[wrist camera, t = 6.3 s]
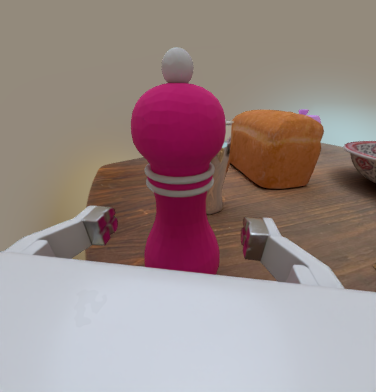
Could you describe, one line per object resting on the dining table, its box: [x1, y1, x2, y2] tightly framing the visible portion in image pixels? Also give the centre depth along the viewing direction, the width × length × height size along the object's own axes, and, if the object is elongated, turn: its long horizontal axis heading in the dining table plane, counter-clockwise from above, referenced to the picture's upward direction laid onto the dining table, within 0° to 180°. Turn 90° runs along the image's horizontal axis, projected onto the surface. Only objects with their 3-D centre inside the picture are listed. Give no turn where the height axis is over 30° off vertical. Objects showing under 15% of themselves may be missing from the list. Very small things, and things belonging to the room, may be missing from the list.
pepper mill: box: [131, 48, 226, 275], centre depth 14 cm, size 7×7×20 cm
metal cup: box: [206, 120, 234, 214], centre depth 29 cm, size 7×7×15 cm
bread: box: [230, 110, 324, 189], centre depth 46 cm, size 14×26×16 cm, turn 9°
